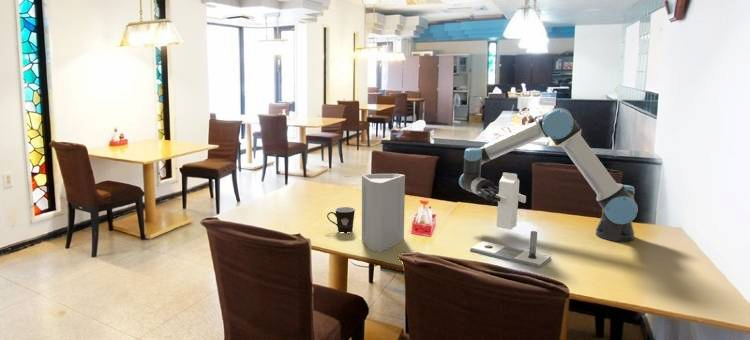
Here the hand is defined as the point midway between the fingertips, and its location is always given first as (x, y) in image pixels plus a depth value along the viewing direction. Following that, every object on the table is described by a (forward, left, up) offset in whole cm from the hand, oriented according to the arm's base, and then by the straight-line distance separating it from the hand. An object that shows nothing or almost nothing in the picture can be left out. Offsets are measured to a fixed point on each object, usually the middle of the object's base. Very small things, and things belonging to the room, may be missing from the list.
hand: (515, 200), depth 194 cm
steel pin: (-10, +4, -20) cm, 22 cm away
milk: (+4, -2, -12) cm, 13 cm away
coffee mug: (+70, +23, -21) cm, 77 cm away
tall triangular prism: (+48, +25, -21) cm, 59 cm away
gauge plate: (-1, +4, -21) cm, 21 cm away
